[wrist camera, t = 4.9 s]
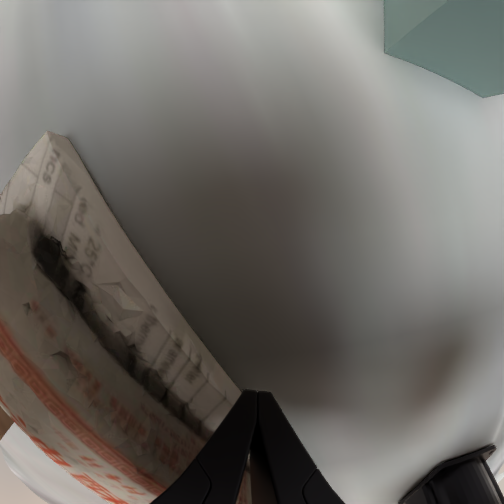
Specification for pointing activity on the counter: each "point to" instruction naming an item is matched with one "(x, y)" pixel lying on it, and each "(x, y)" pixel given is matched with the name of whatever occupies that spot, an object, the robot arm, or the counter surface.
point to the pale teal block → (450, 40)
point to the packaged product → (97, 340)
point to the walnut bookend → (4, 422)
